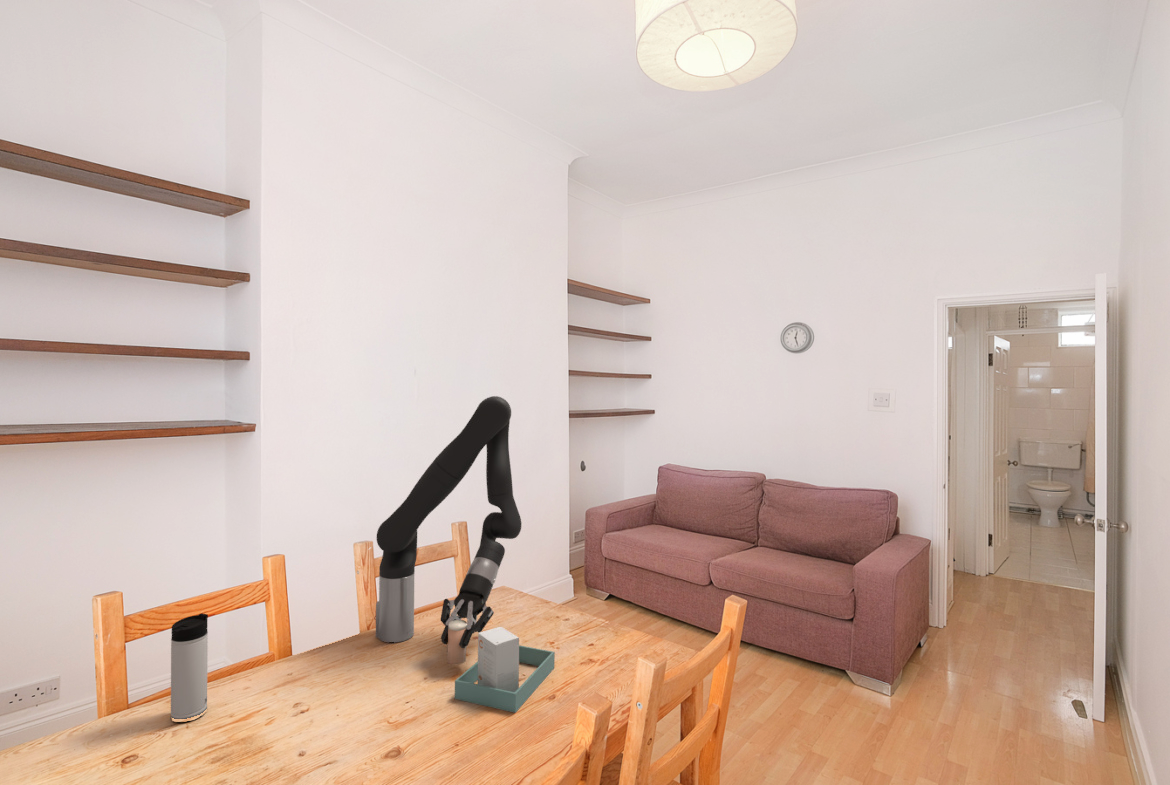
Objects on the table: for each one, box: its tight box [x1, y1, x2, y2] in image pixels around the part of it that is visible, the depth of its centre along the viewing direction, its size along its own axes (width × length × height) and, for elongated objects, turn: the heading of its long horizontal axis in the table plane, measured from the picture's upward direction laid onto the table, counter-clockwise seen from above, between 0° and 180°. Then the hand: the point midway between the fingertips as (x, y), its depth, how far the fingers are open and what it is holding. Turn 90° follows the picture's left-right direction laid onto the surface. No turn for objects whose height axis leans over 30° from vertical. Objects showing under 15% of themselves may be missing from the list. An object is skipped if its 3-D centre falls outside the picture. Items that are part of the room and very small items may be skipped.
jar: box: [446, 619, 467, 665], centre depth 141 cm, size 4×4×9 cm
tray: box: [454, 644, 556, 713], centre depth 135 cm, size 15×21×4 cm
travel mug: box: [170, 612, 209, 719], centre depth 120 cm, size 6×7×20 cm
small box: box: [476, 626, 520, 692], centre depth 131 cm, size 8×6×13 cm
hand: (452, 644), depth 139 cm, fingers closed on jar, 4 cm apart
